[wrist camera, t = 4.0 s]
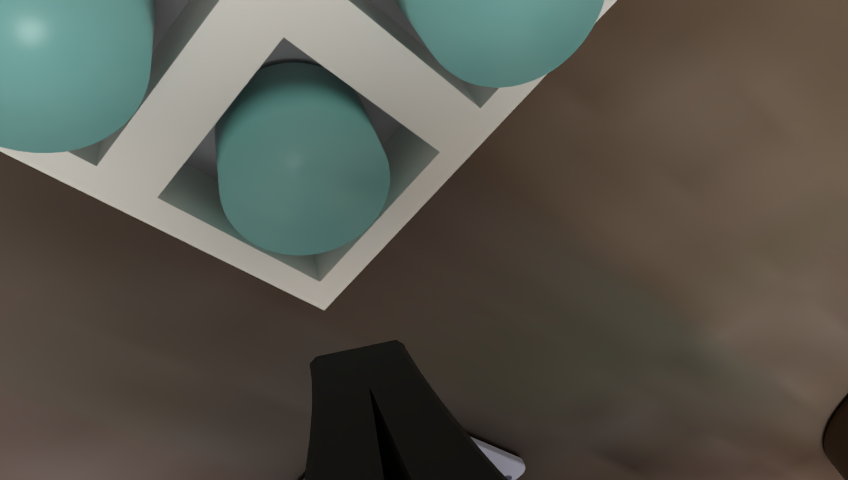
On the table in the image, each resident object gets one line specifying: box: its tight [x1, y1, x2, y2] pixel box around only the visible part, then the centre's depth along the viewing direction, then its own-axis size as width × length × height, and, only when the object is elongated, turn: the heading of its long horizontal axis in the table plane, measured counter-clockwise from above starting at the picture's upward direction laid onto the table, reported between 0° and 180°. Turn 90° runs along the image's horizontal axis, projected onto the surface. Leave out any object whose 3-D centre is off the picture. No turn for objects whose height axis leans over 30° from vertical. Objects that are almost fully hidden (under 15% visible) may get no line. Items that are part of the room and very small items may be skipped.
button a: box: [215, 63, 390, 256], centre depth 17 cm, size 4×4×2 cm
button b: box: [0, 0, 155, 153], centre depth 13 cm, size 4×4×2 cm
